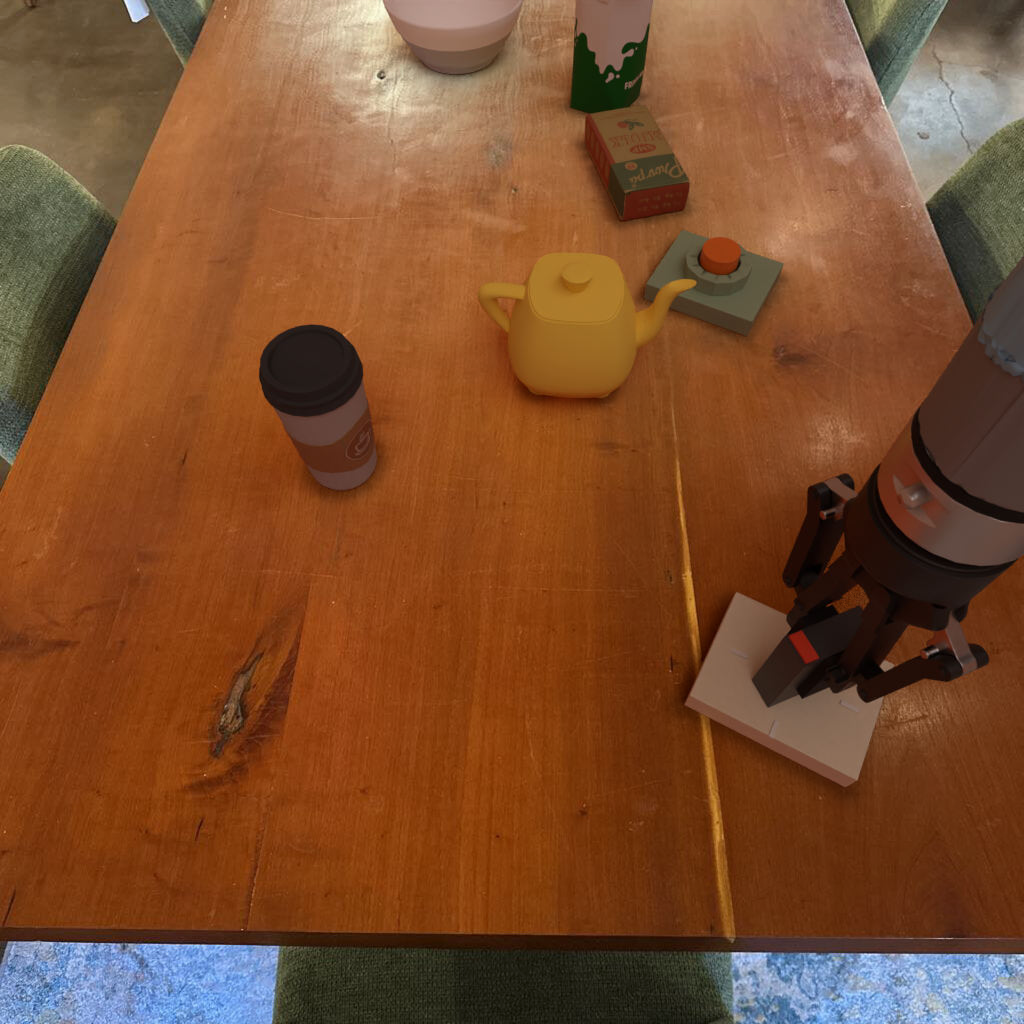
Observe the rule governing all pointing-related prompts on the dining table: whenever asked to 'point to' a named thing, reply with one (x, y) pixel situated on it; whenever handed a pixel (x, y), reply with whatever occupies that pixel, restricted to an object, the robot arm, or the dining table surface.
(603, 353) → the teapot
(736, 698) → the panel
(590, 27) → the milk carton
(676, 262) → the housing
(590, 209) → the dining table surface
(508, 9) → the bowl
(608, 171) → the carton
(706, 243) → the button
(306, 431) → the coffee cup
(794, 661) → the dark grey rectangular block
